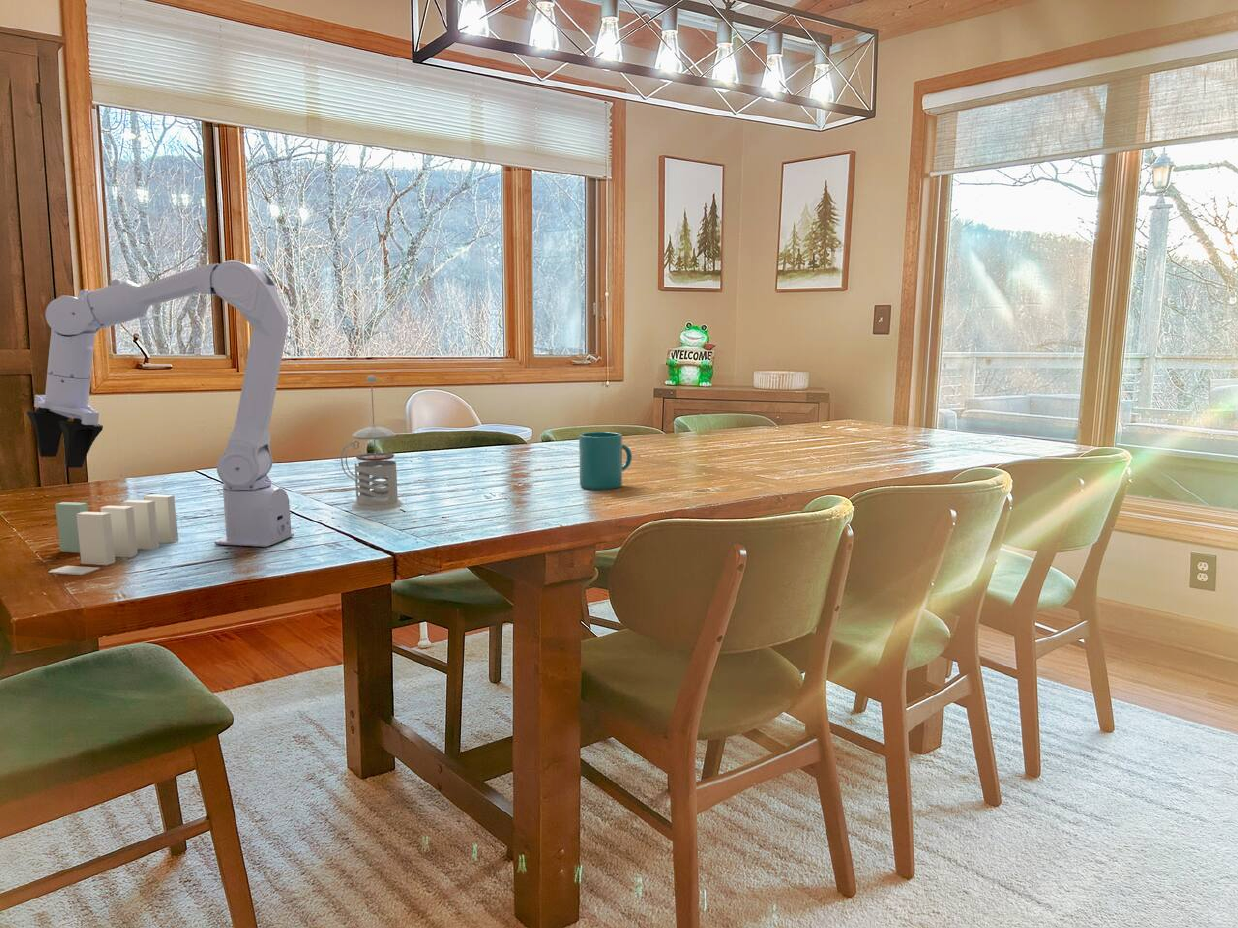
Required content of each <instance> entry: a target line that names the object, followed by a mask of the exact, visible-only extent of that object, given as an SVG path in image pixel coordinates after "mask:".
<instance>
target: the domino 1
mask: <svg viewBox="0 0 1238 928" xmlns="http://www.w3.org/2000/svg"><path fill="white" fill-rule="evenodd" d="M88 504H89V503H88V502H74V501H73V502H70V501H69V502H68V501H61V502H59V503H58V502H57V503H55V504H54V506H55V515H56V516H55V517H56V524H57V533H58V534H57V535H58V541H59V543H58V544H59V551H60V552H64V553H66V552H67V553H68V552H69V553H80V544H79V535H78V525H77V516H76V514H78V513H81V512H90V511H89V505H88Z"/></svg>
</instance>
